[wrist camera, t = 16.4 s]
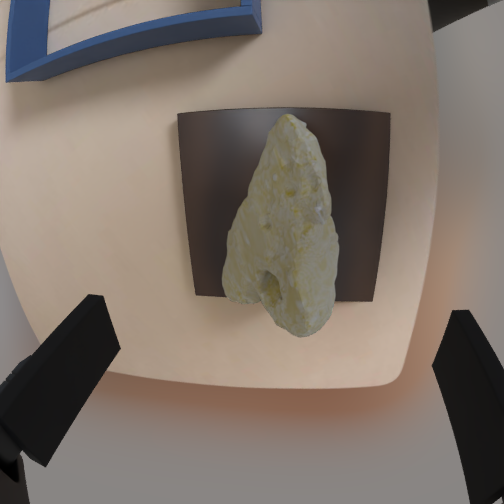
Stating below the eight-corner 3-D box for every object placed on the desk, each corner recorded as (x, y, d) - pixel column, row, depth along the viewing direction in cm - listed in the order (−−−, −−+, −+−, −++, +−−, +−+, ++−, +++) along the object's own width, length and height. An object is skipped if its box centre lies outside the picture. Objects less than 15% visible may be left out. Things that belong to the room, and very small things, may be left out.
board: (386, 112, 24) (390, 112, 23) (369, 293, 32) (372, 301, 30) (182, 113, 27) (177, 113, 25) (199, 288, 34) (195, 295, 33)
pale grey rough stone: (293, 309, 34) (416, 308, 21) (237, 338, 30) (361, 359, 18) (248, 173, 33) (355, 110, 21) (186, 186, 29) (282, 107, 17)
